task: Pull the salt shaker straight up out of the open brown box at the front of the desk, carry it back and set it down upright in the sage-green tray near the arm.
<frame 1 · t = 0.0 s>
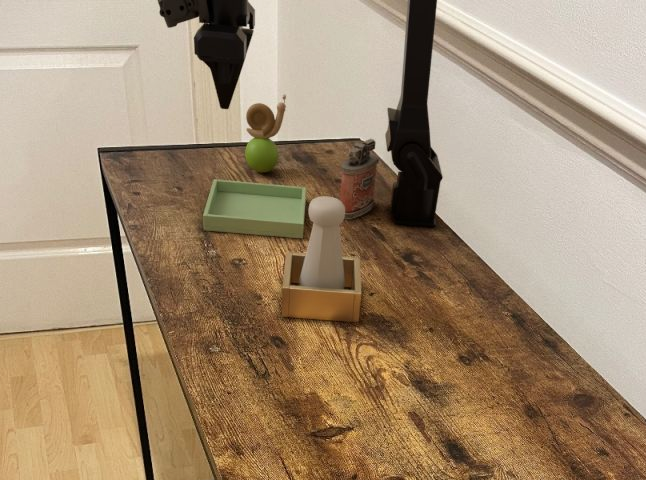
hand: (228, 98, 109), 15 cm above the table, tool pointing down, fingers open, 9 cm apart
tray: (257, 215, 117), on the table
lighter: (355, 211, 122), on the table
snail figurine: (264, 172, 129), on the table
open brown box: (320, 300, 100), on the table
salt shaker: (320, 301, 100), resting in open brown box
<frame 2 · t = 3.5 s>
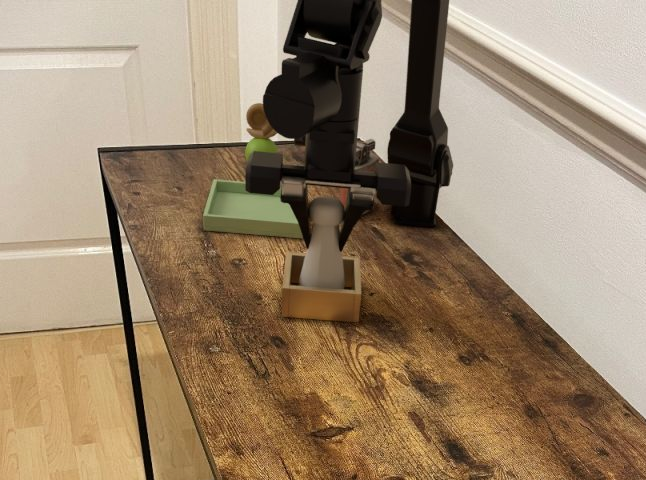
hand: (324, 249, 96), 7 cm above the table, tool pointing down, fingers closed on salt shaker, 3 cm apart
salt shaker: (320, 301, 100), resting in open brown box, touching gripper
everything else where it was.
when the fingers open (8 cm above the table, at t = 8.4 s): salt shaker stays where it is, resting on tray.
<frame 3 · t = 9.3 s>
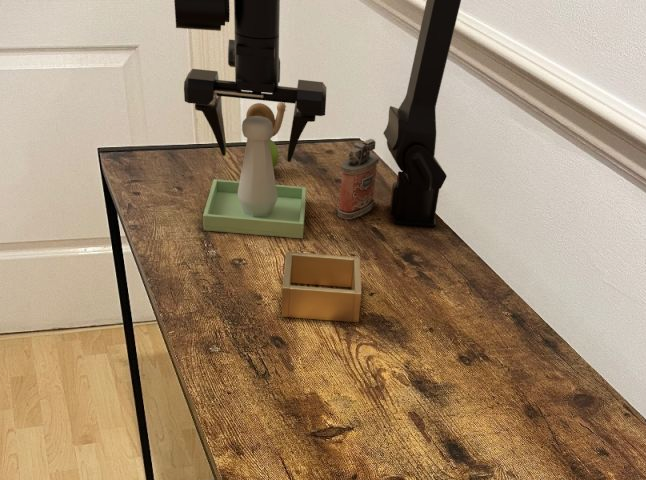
hand: (256, 157, 111), 8 cm above the table, tool pointing down, fingers open, 9 cm apart
salt shaker: (257, 212, 116), resting on tray
everything else where it was.
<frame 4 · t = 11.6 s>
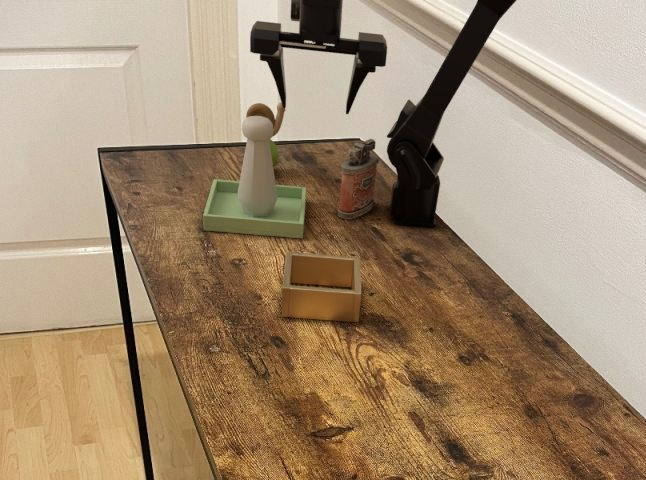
hand: (315, 110, 114), 13 cm above the table, tool pointing down, fingers open, 9 cm apart
nothing on the table moved.
at the end: salt shaker inside the target area in the tray (0.1 cm from its centre), point 0.4 cm above the tray's base; salt shaker tilted 0°; the gripper is holding nothing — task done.
